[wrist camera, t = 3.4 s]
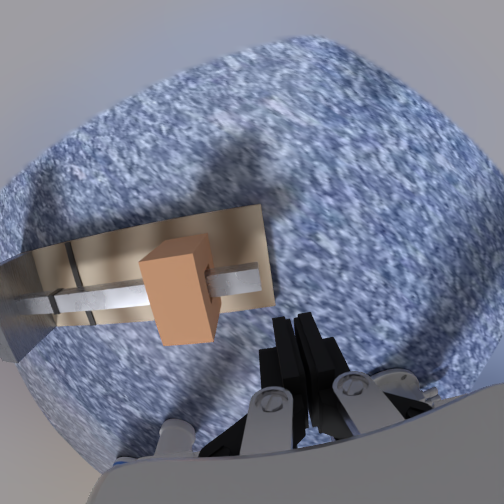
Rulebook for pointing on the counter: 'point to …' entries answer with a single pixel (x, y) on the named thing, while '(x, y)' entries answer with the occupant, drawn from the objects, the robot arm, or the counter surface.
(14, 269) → the slider rail assembly
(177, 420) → the bottle
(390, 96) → the counter surface
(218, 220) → the base board
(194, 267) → the tan notched block
